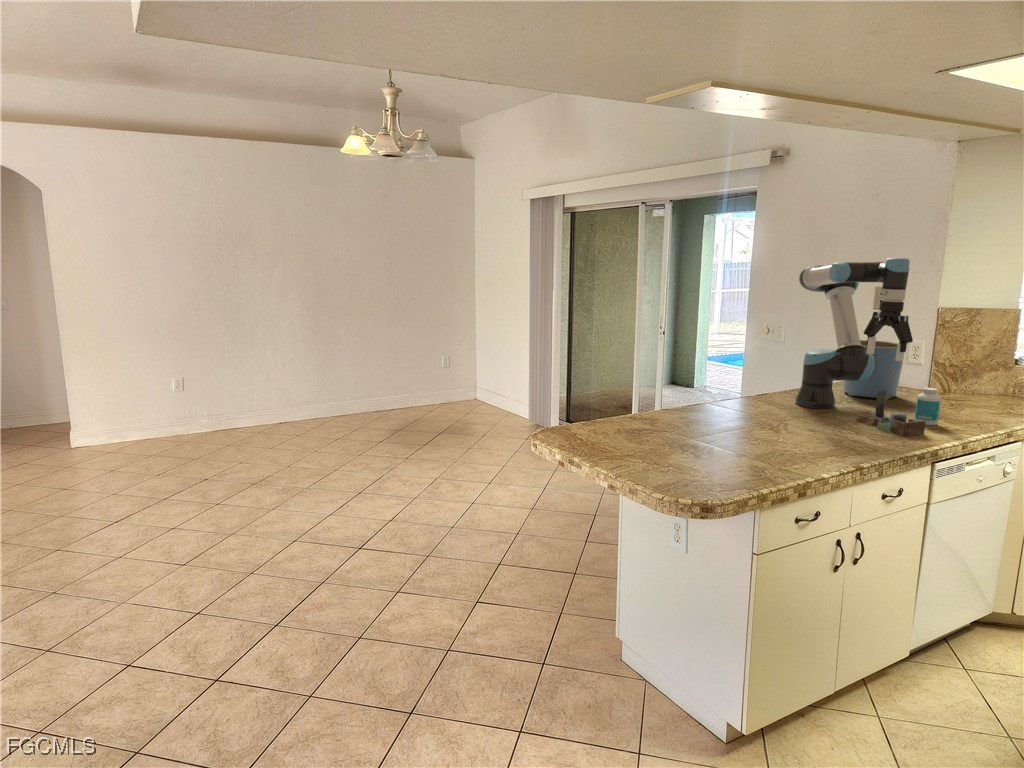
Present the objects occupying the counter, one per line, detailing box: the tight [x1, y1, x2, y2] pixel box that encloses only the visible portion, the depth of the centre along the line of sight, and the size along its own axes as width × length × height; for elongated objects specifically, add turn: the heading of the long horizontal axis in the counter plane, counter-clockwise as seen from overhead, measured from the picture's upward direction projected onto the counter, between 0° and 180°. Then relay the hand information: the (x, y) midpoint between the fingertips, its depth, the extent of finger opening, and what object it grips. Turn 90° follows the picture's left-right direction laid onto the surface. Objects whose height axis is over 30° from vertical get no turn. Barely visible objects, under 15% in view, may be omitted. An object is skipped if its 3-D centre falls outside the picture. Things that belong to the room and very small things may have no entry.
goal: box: [890, 418, 926, 437], centre depth 222 cm, size 6×8×5 cm
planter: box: [843, 339, 904, 401], centre depth 280 cm, size 23×23×24 cm
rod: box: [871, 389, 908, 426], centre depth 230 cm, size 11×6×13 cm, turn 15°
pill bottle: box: [914, 387, 942, 426], centre depth 234 cm, size 8×7×14 cm
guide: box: [855, 412, 876, 426], centre depth 237 cm, size 8×7×2 cm
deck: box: [876, 422, 892, 433], centre depth 228 cm, size 6×10×2 cm, turn 105°
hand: (884, 357), depth 235 cm, fingers open, 13 cm apart
